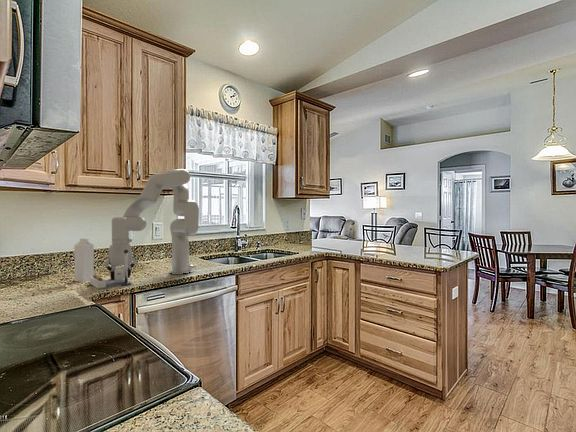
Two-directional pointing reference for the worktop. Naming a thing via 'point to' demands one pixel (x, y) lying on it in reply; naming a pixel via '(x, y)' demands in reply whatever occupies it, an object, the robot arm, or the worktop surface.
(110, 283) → the mat
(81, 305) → the worktop surface
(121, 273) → the power adapter
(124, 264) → the cord post
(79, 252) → the milk
